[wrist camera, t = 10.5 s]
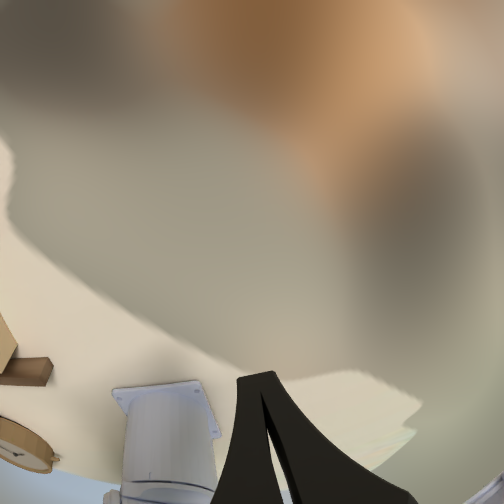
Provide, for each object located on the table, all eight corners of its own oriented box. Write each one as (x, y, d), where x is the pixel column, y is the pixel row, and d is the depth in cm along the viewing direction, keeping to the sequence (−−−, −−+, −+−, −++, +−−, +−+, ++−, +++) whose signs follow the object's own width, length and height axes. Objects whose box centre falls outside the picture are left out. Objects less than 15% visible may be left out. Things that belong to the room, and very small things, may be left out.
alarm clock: (42, 478, 25) (-45, 438, 16) (42, 451, 29) (-40, 411, 20) (65, 467, 23) (-43, 418, 15) (65, 435, 27) (-35, 385, 19)
